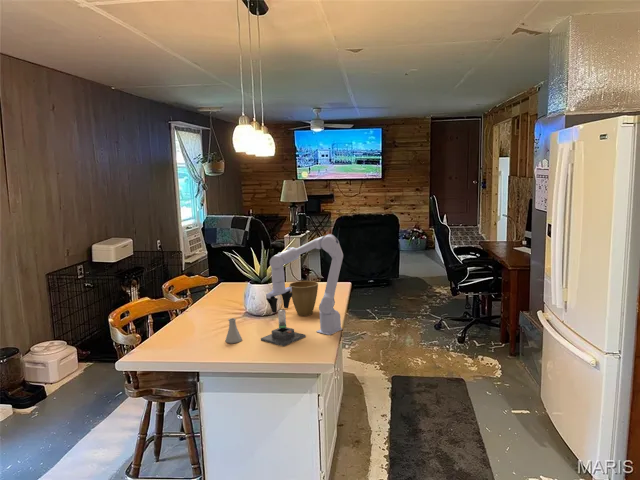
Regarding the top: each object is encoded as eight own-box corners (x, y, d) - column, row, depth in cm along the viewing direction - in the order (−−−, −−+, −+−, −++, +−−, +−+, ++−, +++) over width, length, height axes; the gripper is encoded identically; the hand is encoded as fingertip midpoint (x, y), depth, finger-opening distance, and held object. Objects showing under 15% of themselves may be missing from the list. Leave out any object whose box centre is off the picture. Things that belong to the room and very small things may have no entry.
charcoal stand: (283, 331, 224) (282, 323, 223) (305, 336, 214) (305, 328, 214) (260, 340, 213) (260, 331, 213) (283, 346, 204) (282, 337, 203)
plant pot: (307, 319, 239) (305, 288, 237) (285, 315, 248) (283, 285, 246) (325, 312, 251) (323, 282, 249) (303, 308, 260) (301, 279, 258)
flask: (222, 341, 214) (220, 319, 213) (236, 337, 219) (234, 315, 218) (231, 345, 209) (229, 322, 208) (245, 340, 214) (243, 318, 213)
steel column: (282, 325, 215) (281, 308, 214) (287, 326, 213) (286, 310, 212) (277, 327, 213) (276, 310, 212) (282, 329, 211) (281, 311, 210)
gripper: (283, 277, 227) (285, 305, 229) (260, 283, 217) (262, 312, 219) (294, 278, 223) (296, 307, 225) (271, 285, 212) (273, 315, 214)
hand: (280, 310), depth 221 cm, fingers open, 7 cm apart
